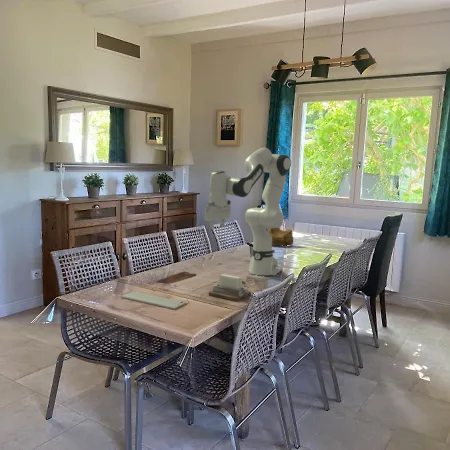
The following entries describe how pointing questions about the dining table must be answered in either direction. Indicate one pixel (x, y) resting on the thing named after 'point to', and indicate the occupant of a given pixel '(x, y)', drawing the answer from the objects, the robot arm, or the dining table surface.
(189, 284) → the dining table surface
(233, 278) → the pale green rectangular block
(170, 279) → the wooden tablet
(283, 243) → the rough brown rock
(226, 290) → the track base
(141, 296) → the baseboard molding
